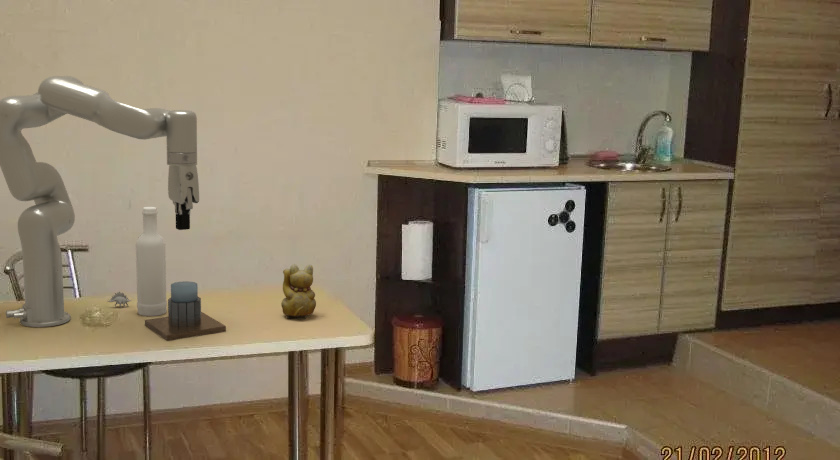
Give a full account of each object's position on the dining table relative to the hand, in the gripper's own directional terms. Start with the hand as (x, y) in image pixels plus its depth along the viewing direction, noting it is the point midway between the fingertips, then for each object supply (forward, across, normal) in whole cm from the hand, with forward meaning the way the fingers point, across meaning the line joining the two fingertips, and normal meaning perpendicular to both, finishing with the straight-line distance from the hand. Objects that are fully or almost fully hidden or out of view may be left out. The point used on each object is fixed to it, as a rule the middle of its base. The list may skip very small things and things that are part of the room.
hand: (182, 229), depth 227 cm
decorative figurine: (+27, -6, -31) cm, 42 cm away
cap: (+23, 0, 0) cm, 23 cm away
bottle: (+27, +19, +2) cm, 33 cm away
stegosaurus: (+27, +29, +8) cm, 40 cm away
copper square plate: (+27, 0, 0) cm, 27 cm away
